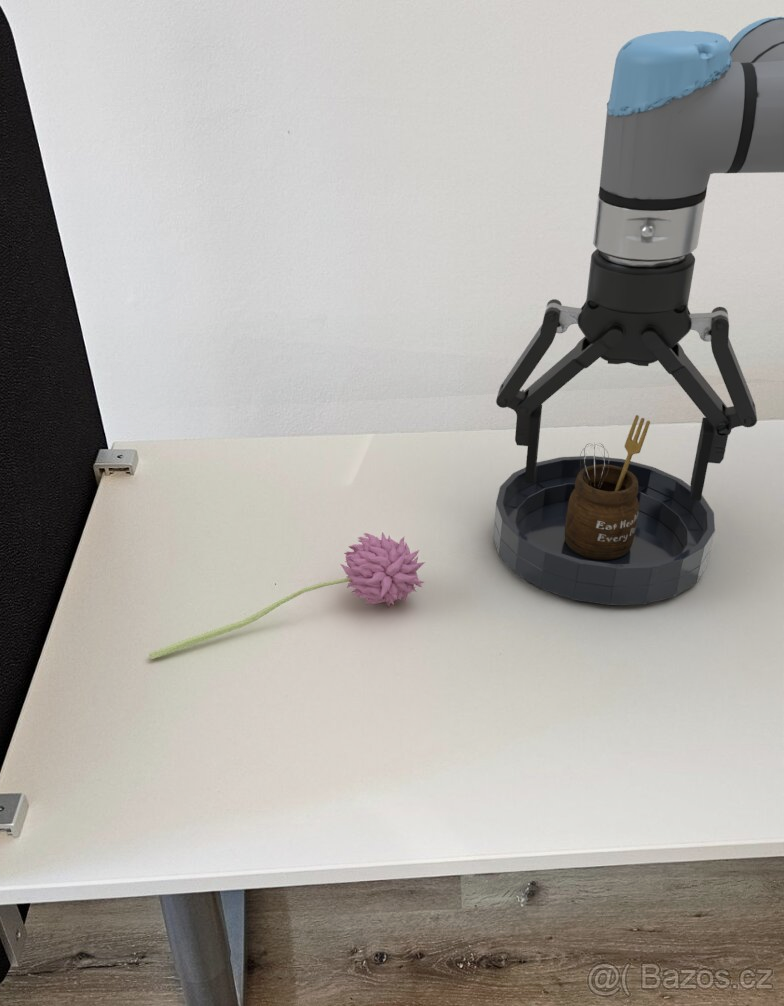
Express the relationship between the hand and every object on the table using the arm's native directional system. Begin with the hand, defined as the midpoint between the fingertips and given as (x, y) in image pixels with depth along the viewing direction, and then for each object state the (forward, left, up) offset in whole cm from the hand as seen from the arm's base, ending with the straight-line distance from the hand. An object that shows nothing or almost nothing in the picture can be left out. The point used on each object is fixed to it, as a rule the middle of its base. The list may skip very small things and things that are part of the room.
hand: (610, 483), depth 94 cm
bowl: (0, 0, -7) cm, 7 cm away
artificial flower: (+24, +18, -7) cm, 31 cm away
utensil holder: (0, 0, -7) cm, 7 cm away
